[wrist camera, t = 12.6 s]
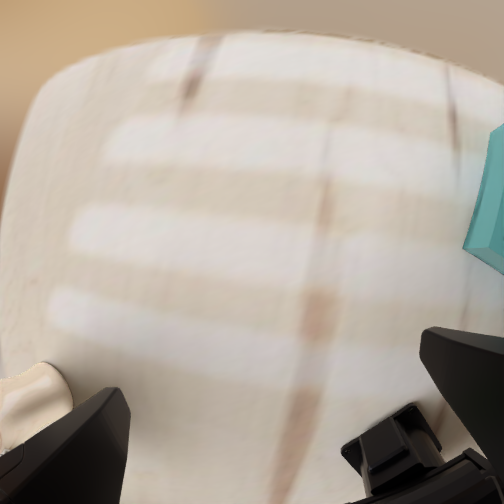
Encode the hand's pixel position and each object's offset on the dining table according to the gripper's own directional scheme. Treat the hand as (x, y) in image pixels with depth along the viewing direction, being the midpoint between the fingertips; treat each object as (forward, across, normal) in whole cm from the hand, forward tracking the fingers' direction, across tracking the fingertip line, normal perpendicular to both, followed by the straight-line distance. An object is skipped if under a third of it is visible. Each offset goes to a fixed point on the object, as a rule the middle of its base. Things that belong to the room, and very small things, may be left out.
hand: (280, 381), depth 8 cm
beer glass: (+15, +21, +10) cm, 28 cm away
